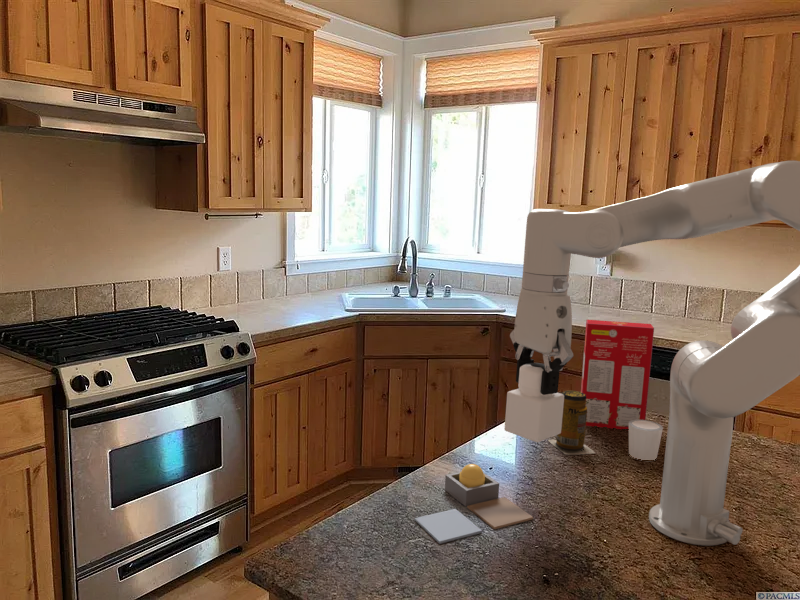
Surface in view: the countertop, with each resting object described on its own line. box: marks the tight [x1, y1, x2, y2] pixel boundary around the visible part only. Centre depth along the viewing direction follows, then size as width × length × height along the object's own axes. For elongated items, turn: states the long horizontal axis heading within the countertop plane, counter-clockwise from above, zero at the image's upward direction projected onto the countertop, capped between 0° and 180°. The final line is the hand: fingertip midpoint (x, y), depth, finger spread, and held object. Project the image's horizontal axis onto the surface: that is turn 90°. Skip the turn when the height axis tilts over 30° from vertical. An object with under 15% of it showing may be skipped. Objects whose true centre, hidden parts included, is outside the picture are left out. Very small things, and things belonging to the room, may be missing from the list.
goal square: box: [414, 508, 483, 545], centre depth 106 cm, size 8×8×1 cm
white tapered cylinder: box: [628, 419, 664, 461], centre depth 137 cm, size 7×7×7 cm
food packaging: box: [580, 319, 655, 430], centre depth 154 cm, size 15×5×25 cm, turn 77°
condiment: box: [547, 390, 596, 456], centre depth 140 cm, size 7×8×12 cm
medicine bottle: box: [504, 362, 564, 443], centre depth 110 cm, size 7×7×12 cm
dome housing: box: [444, 471, 500, 507], centre depth 117 cm, size 7×7×3 cm
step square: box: [466, 496, 534, 530], centre depth 110 cm, size 8×8×1 cm
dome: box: [459, 463, 486, 488], centre depth 117 cm, size 5×5×5 cm
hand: (536, 386), depth 110 cm, fingers closed on medicine bottle, 6 cm apart
